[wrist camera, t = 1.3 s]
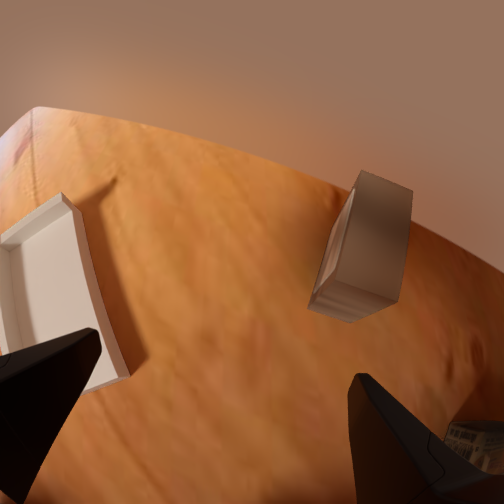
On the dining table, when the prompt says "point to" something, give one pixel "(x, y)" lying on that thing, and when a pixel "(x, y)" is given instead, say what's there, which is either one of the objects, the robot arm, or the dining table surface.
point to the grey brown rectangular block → (365, 251)
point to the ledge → (54, 287)
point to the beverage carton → (479, 443)
